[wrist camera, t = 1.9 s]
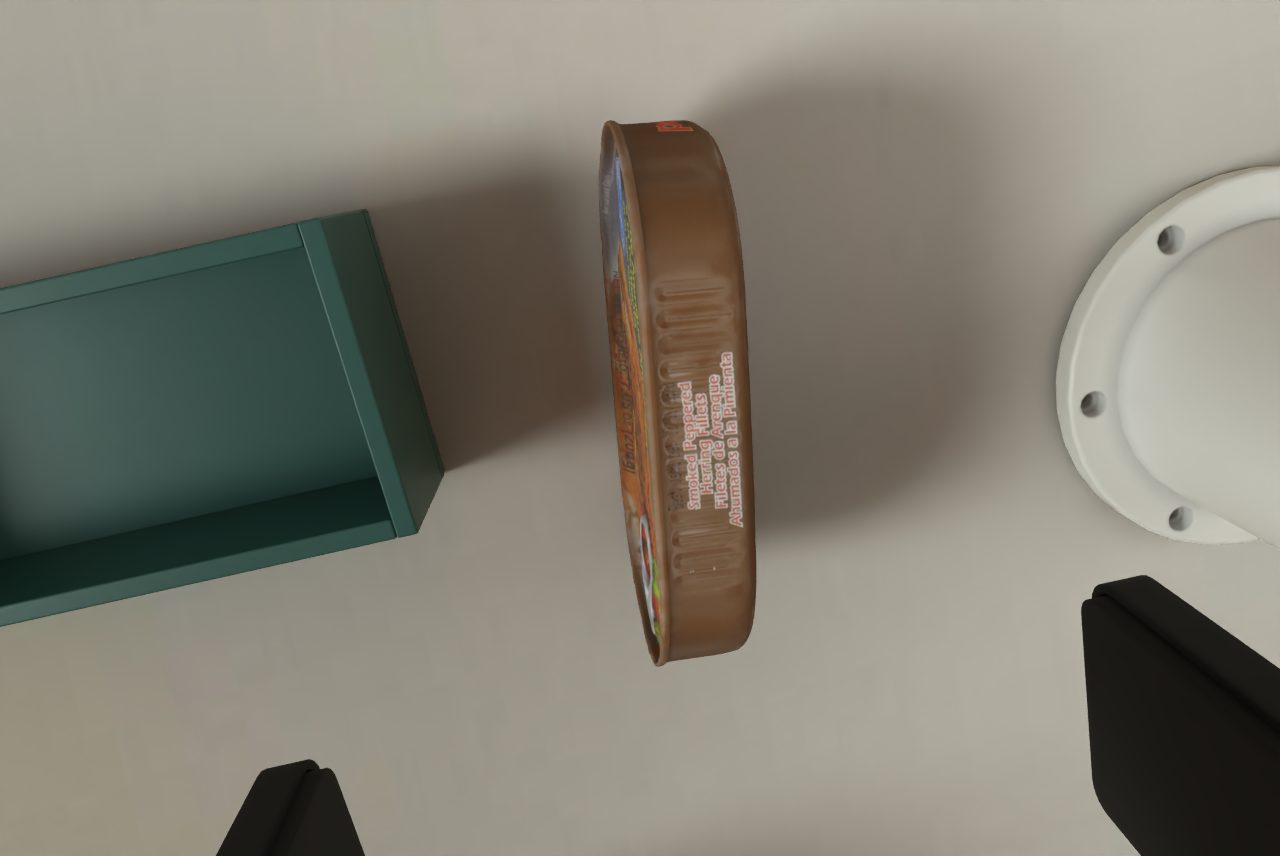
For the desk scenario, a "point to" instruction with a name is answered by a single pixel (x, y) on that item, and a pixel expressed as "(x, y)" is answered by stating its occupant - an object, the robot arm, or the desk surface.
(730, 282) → the tin
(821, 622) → the desk surface
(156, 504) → the box
